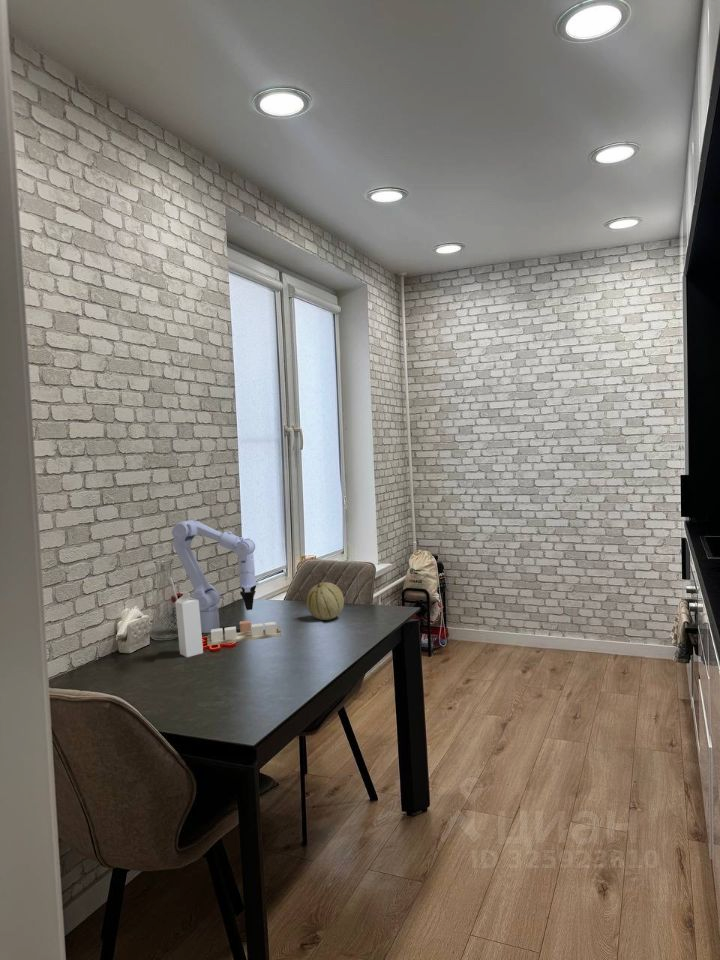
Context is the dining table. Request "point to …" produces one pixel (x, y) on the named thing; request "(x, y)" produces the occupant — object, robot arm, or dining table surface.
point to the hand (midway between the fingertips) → (249, 607)
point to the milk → (189, 625)
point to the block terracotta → (245, 626)
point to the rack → (244, 637)
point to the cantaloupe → (325, 601)
